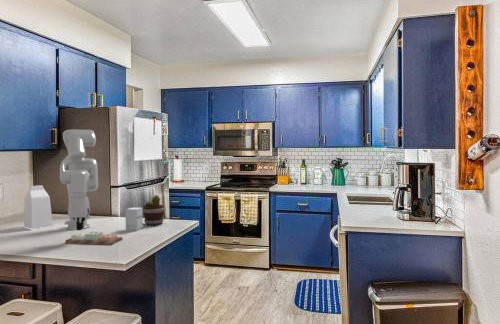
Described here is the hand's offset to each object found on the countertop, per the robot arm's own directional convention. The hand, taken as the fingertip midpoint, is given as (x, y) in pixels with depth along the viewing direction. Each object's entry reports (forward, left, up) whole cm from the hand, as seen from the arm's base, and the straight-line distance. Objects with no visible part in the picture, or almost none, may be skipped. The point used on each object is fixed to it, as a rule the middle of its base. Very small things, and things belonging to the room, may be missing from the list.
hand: (80, 229), depth 187 cm
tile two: (+9, -1, -4) cm, 10 cm away
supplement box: (+16, +28, -6) cm, 33 cm away
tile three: (+17, -1, -5) cm, 17 cm away
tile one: (+1, -1, -5) cm, 5 cm away
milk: (-48, +27, -6) cm, 56 cm away
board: (+9, -1, -6) cm, 10 cm away
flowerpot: (+21, +44, -6) cm, 49 cm away
